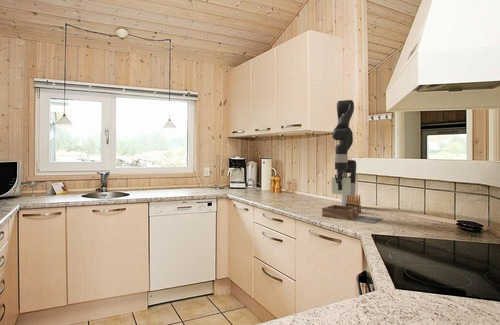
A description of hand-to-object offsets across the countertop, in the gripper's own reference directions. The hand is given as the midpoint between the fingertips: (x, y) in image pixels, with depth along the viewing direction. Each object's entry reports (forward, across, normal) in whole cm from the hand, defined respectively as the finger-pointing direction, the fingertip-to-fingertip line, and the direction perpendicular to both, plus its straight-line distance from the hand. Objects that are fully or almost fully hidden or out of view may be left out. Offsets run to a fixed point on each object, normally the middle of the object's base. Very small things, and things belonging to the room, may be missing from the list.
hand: (341, 189), depth 198 cm
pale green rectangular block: (+3, 0, 0) cm, 3 cm away
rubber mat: (+16, +1, +16) cm, 23 cm away
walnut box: (+16, 0, 0) cm, 16 cm away
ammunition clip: (+16, -17, +1) cm, 24 cm away
